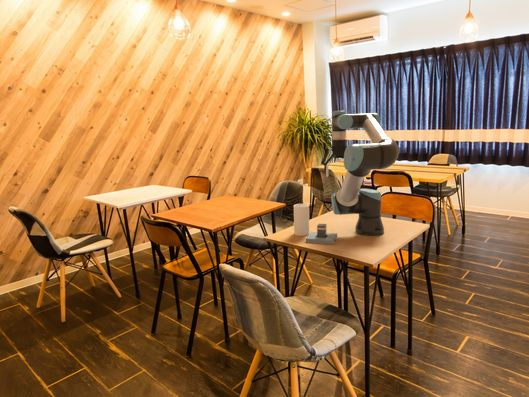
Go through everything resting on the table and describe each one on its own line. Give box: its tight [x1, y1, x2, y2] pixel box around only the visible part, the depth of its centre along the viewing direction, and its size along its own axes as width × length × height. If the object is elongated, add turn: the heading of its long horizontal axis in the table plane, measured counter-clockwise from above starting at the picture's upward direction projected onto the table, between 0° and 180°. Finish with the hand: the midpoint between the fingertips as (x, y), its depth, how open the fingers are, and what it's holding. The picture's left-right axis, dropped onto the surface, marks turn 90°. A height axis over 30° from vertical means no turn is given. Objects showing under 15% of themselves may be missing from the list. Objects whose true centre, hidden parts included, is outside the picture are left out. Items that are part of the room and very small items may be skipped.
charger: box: [316, 223, 327, 238], centre depth 203 cm, size 4×4×8 cm
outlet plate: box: [305, 231, 338, 245], centre depth 204 cm, size 14×12×2 cm
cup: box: [293, 203, 310, 237], centre depth 214 cm, size 8×8×16 cm
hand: (339, 176), depth 222 cm, fingers open, 13 cm apart
